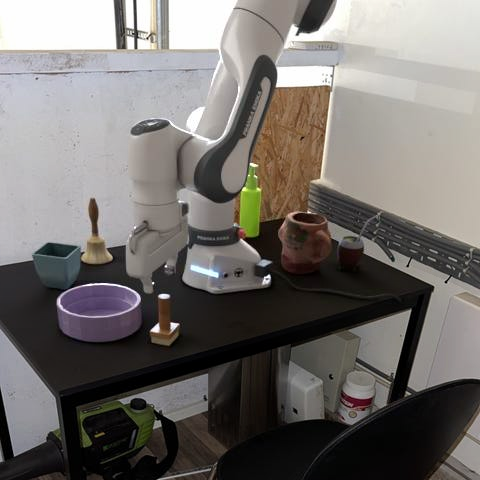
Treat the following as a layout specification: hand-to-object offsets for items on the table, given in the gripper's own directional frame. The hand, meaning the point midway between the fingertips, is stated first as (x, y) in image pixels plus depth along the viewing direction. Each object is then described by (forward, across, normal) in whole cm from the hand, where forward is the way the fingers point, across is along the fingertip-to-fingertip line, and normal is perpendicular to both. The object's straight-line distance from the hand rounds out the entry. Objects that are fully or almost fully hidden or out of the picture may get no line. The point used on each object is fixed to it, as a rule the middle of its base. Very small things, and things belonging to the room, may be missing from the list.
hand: (160, 282), depth 129 cm
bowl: (+12, -1, +15) cm, 19 cm away
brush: (+12, -1, -1) cm, 12 cm away
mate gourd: (+14, +58, -28) cm, 66 cm away
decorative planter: (+14, +51, -17) cm, 55 cm away
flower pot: (+12, +14, +35) cm, 39 cm away
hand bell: (+12, +33, +36) cm, 51 cm away
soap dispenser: (+14, +72, +7) cm, 73 cm away
